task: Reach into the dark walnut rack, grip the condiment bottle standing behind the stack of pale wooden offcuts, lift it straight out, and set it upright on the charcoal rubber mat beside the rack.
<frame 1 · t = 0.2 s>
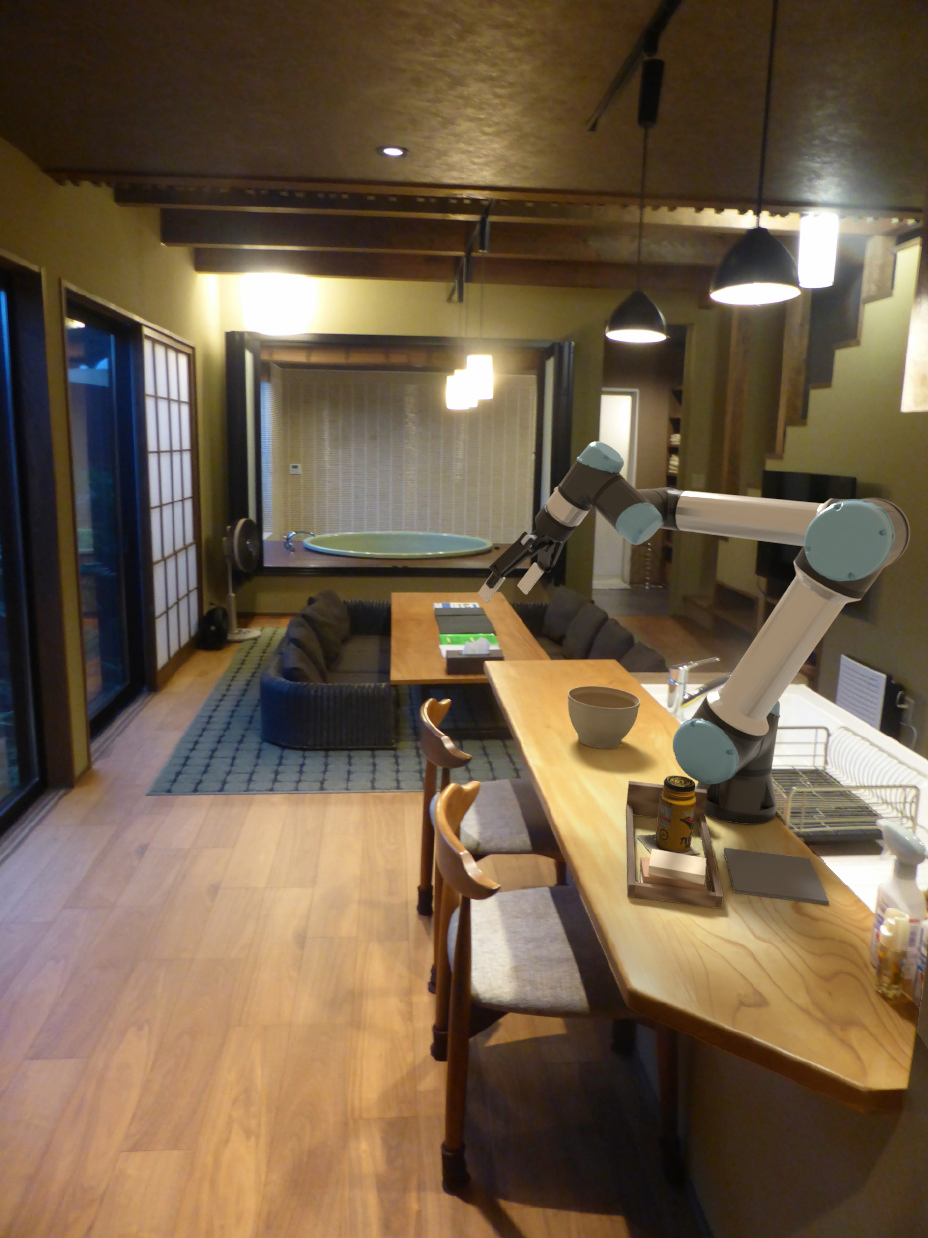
hand: (502, 593, 178), 36 cm above the worktop, tool tilted 35°, fingers open, 13 cm apart
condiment: (667, 846, 151), resting in walnut rack
slate mat: (773, 876, 142), on the worktop
offcut stack: (672, 888, 138), resting in walnut rack
planter bowl: (599, 743, 199), on the worktop
walnut rack: (668, 854, 148), on the worktop
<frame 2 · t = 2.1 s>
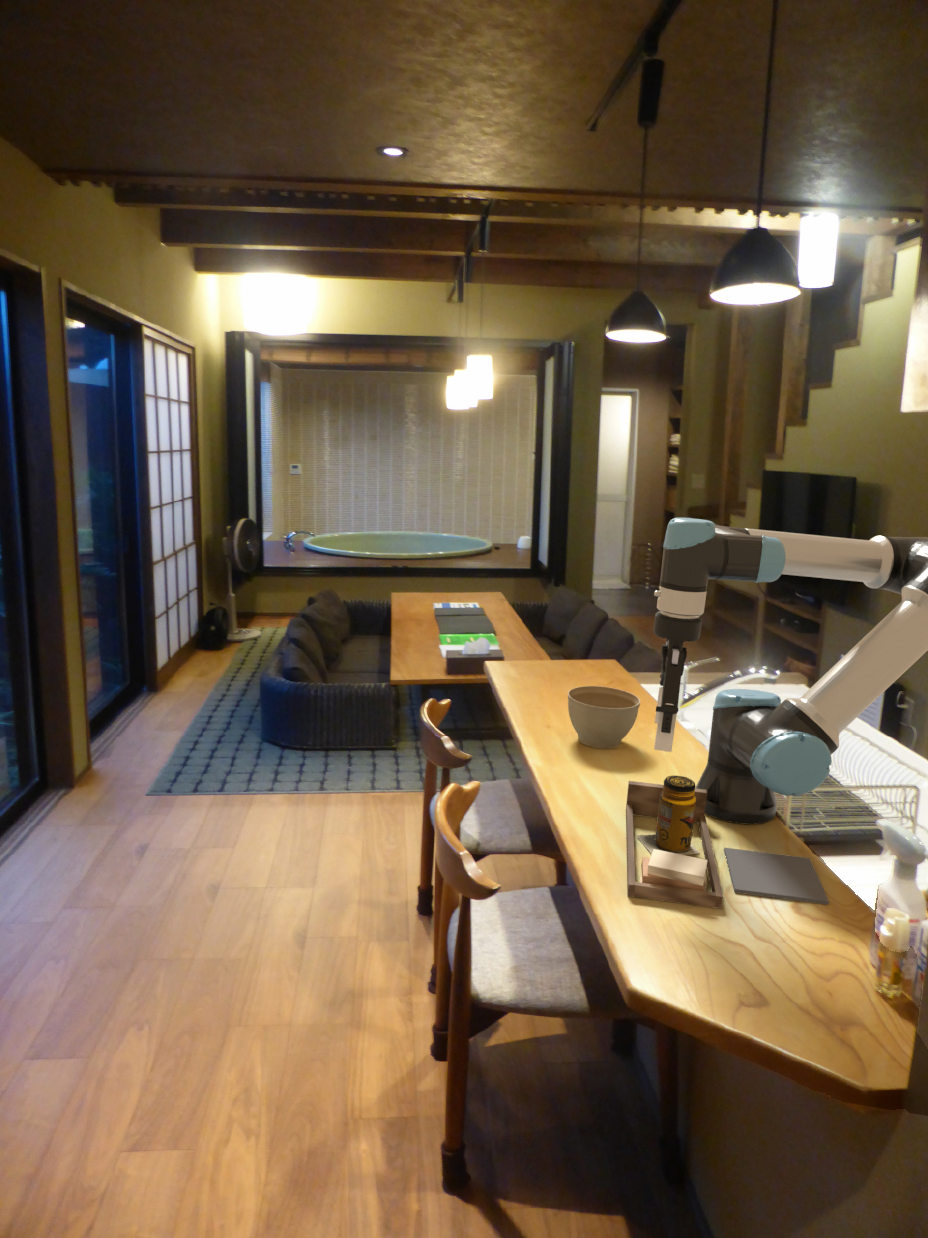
hand: (662, 736, 148), 19 cm above the worktop, tool pointing down, fingers open, 13 cm apart
nothing on the worktop moved.
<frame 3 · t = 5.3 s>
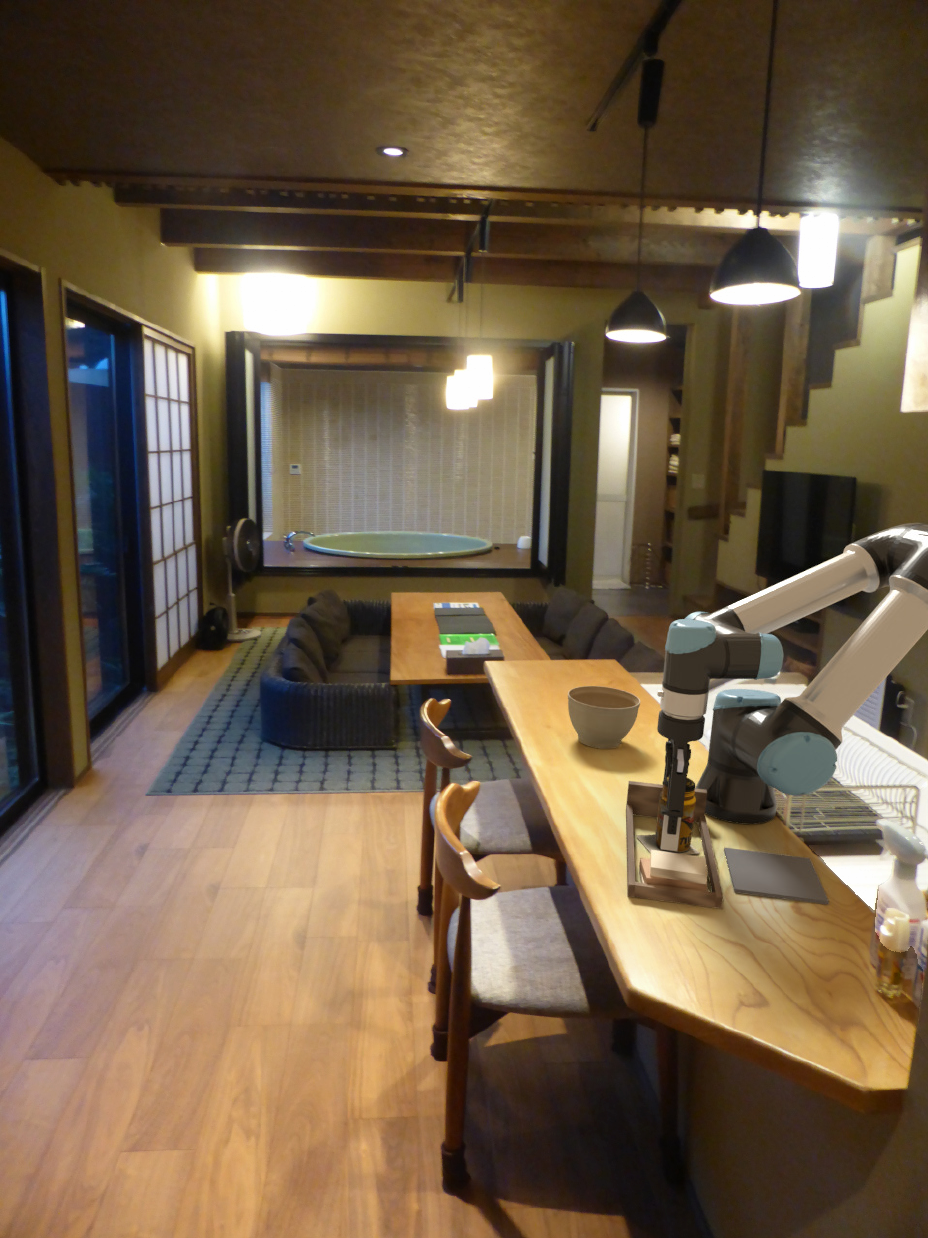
hand: (667, 839, 151), 1 cm above the worktop, tool pointing down, fingers closed on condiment, 6 cm apart
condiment: (667, 846, 151), resting in walnut rack, touching gripper
everything else where it was.
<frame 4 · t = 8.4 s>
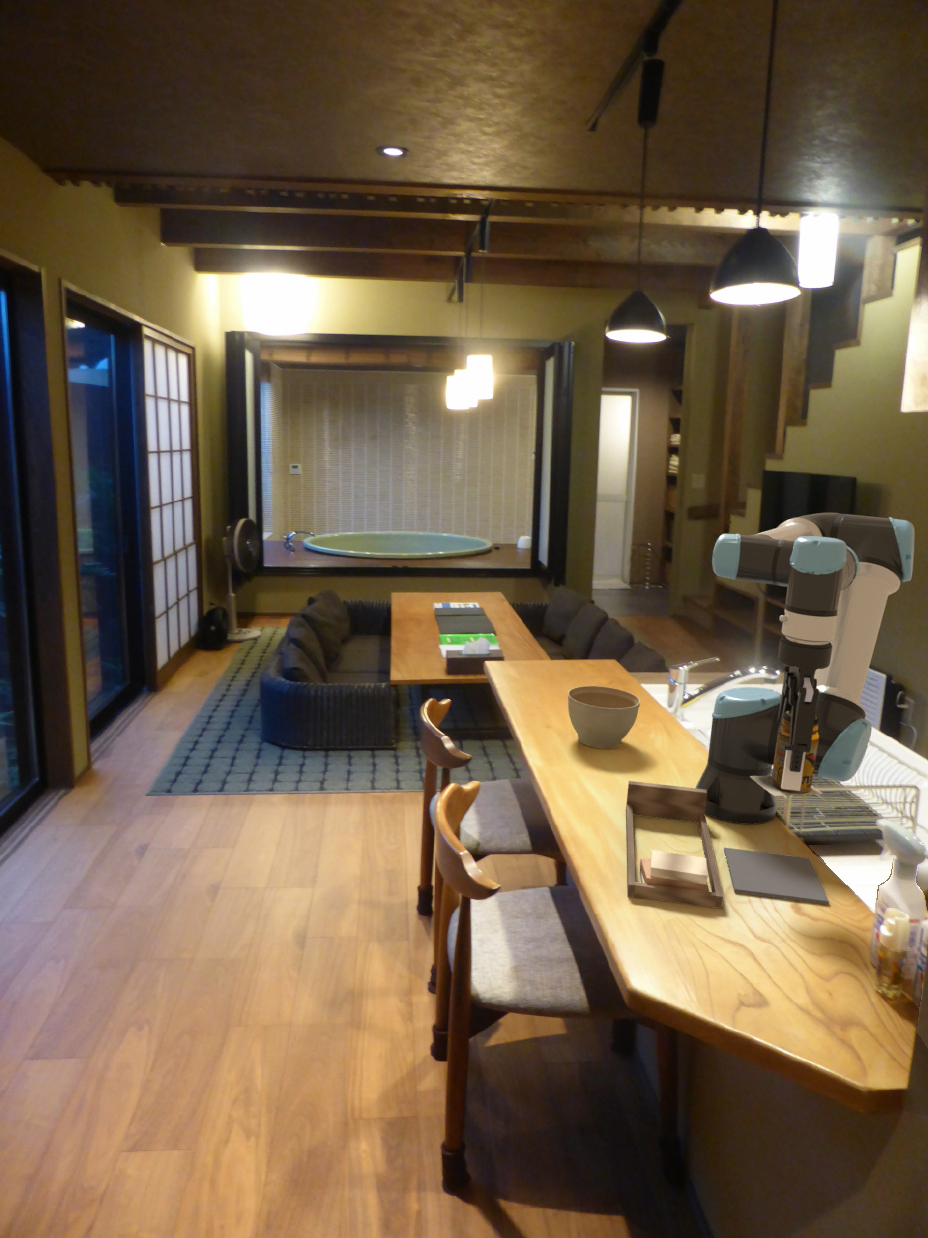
hand: (786, 780, 139), 17 cm above the worktop, tool pointing down, fingers closed on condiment, 6 cm apart
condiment: (785, 787, 139), point 16 cm above the worktop, touching gripper
everything else where it was.
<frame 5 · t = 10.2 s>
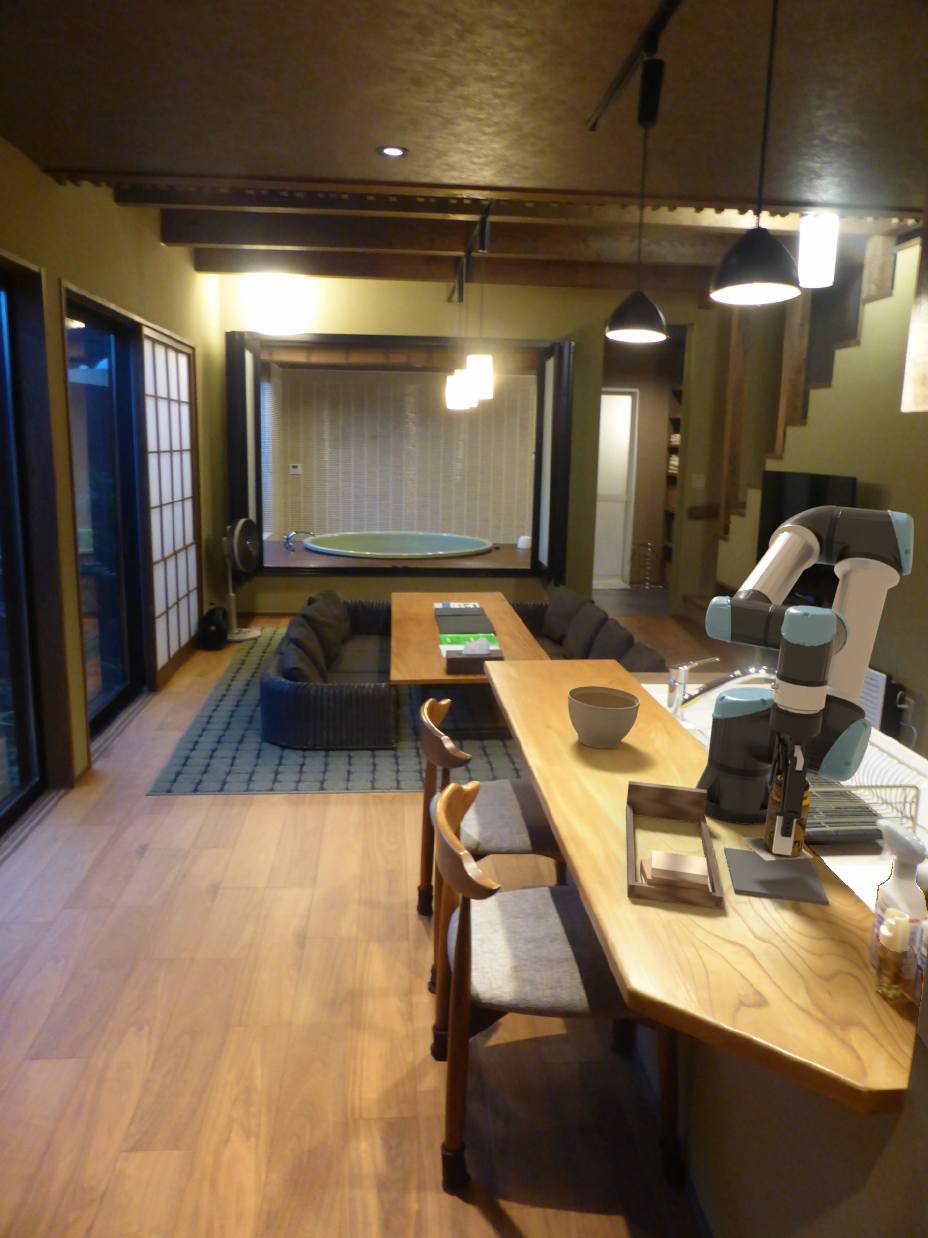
hand: (777, 843, 141), 6 cm above the worktop, tool pointing down, fingers closed on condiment, 6 cm apart
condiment: (776, 850, 141), point 5 cm above the worktop, touching gripper
everything else where it was.
when the fingers open (3 cm above the worktop, at t = 11.6 s): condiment drops 1 cm, resting on slate mat.
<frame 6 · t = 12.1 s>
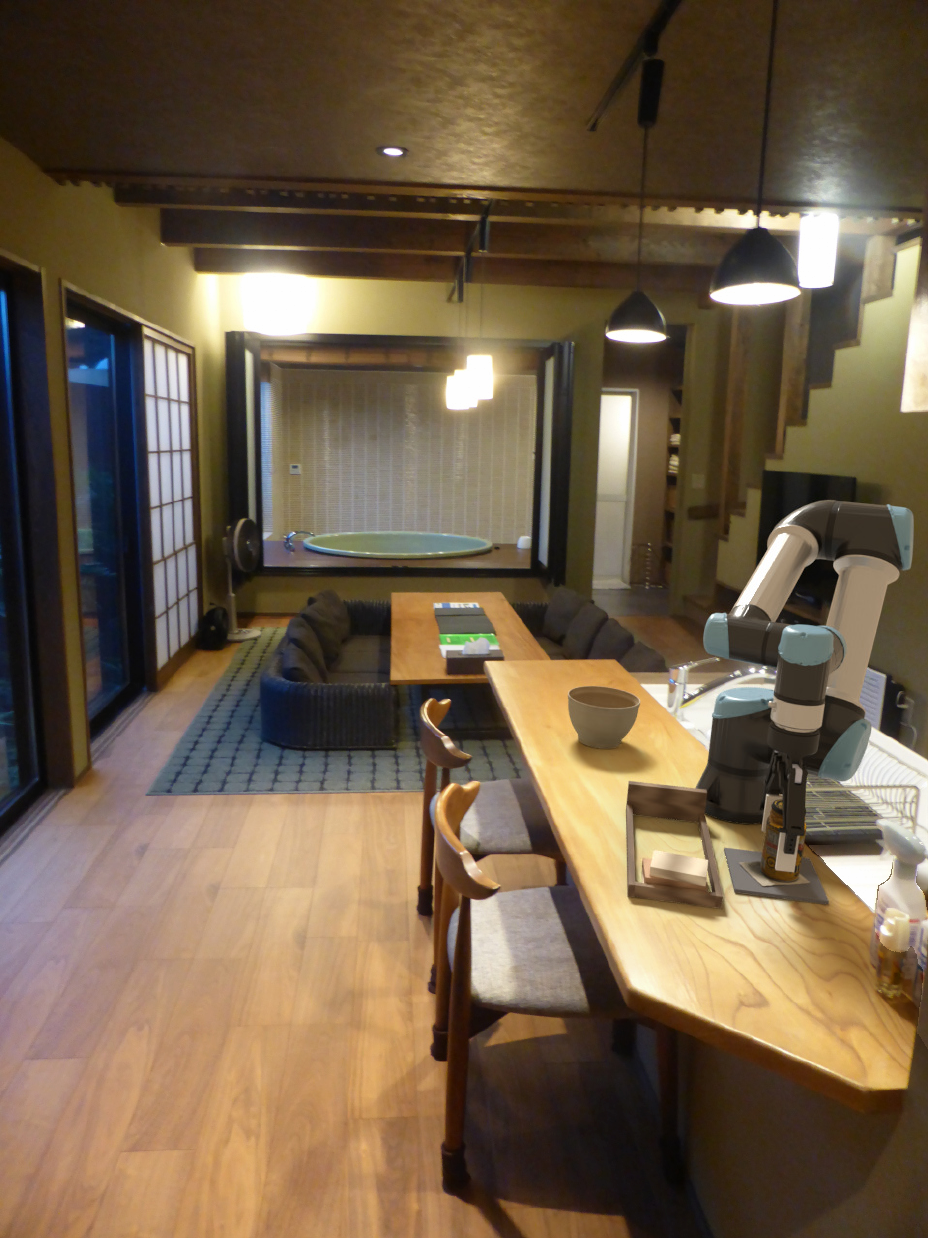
hand: (776, 850, 141), 5 cm above the worktop, tool pointing down, fingers open, 13 cm apart
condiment: (773, 874, 142), resting on slate mat
everything else where it was.
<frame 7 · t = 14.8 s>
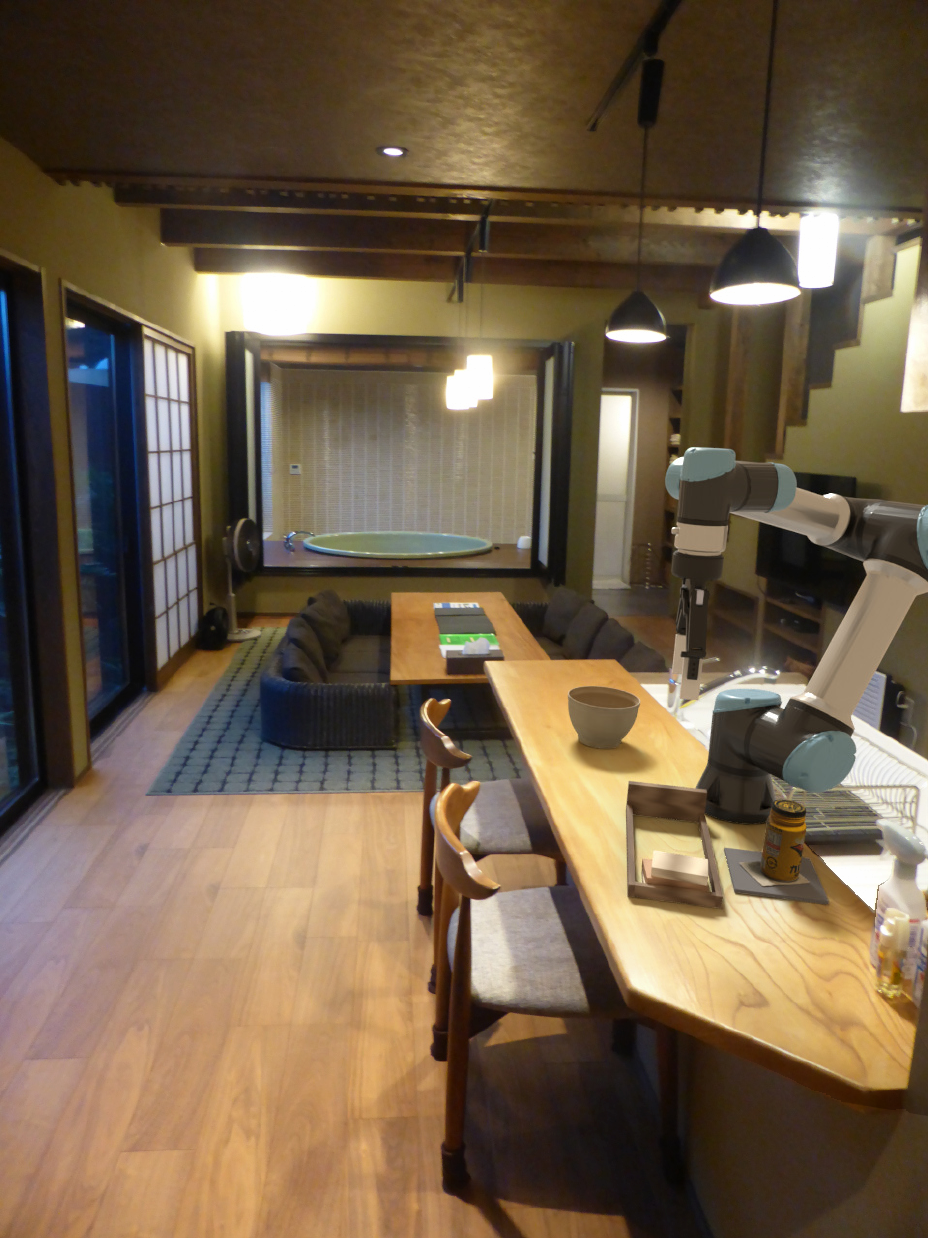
hand: (684, 686, 138), 31 cm above the worktop, tool pointing down, fingers open, 13 cm apart
nothing on the worktop moved.
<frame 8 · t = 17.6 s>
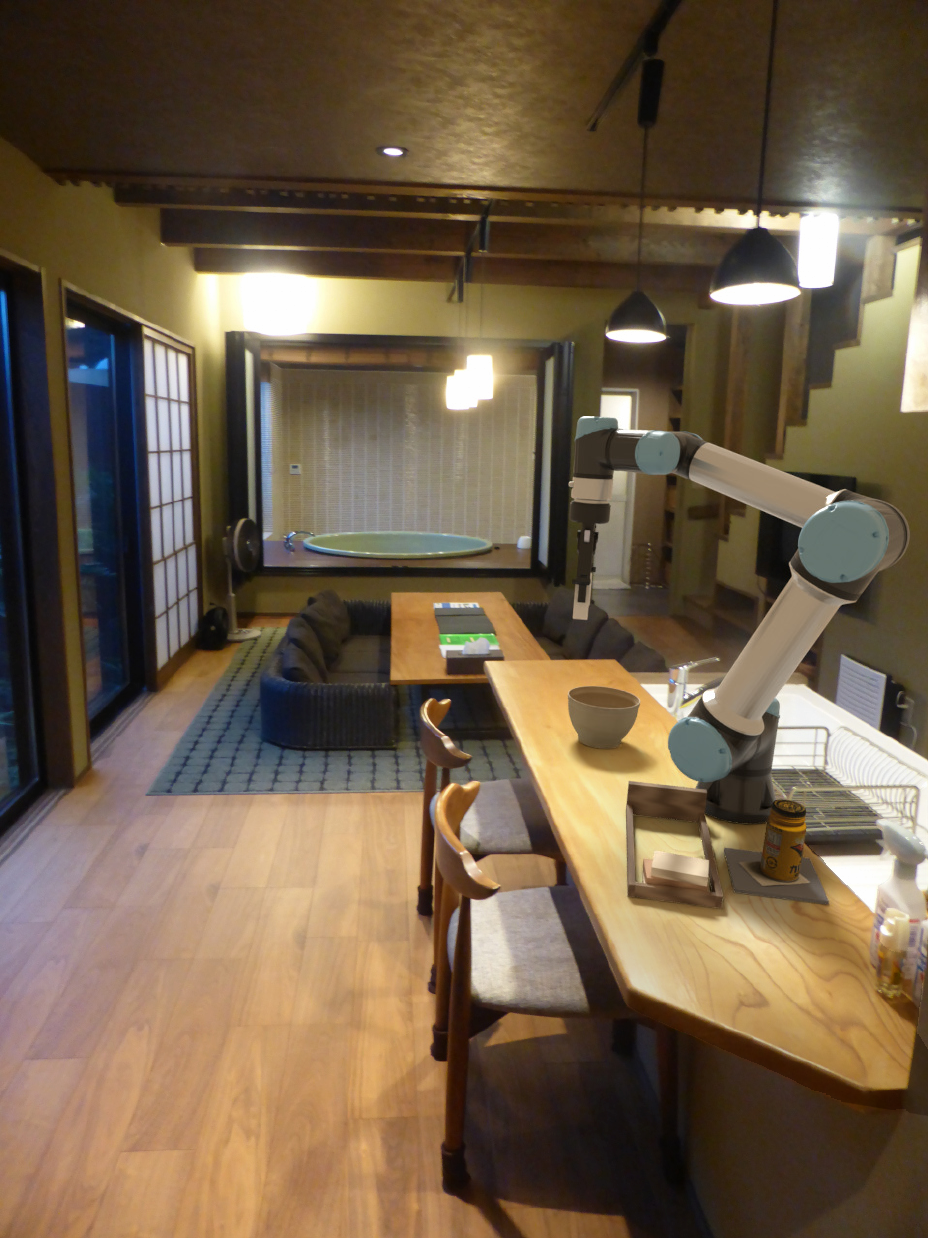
hand: (581, 611, 169), 35 cm above the worktop, tool pointing down, fingers open, 13 cm apart
nothing on the worktop moved.
at the end: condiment inside the target area on the slate mat (0.3 cm from its centre), point 0.4 cm above the slate mat's base; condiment tilted 0°; offcut stack moved 0.7 cm from its start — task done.
